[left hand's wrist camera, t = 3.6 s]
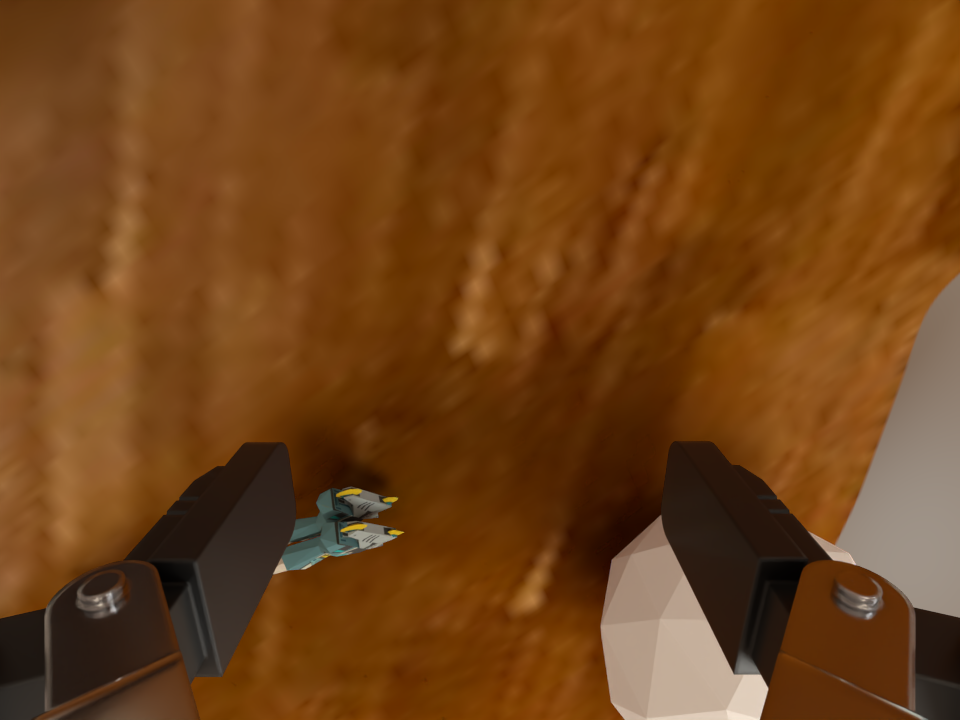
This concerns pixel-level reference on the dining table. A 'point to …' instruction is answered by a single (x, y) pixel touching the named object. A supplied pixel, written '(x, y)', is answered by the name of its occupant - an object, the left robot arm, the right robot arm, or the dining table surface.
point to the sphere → (670, 641)
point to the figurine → (338, 528)
